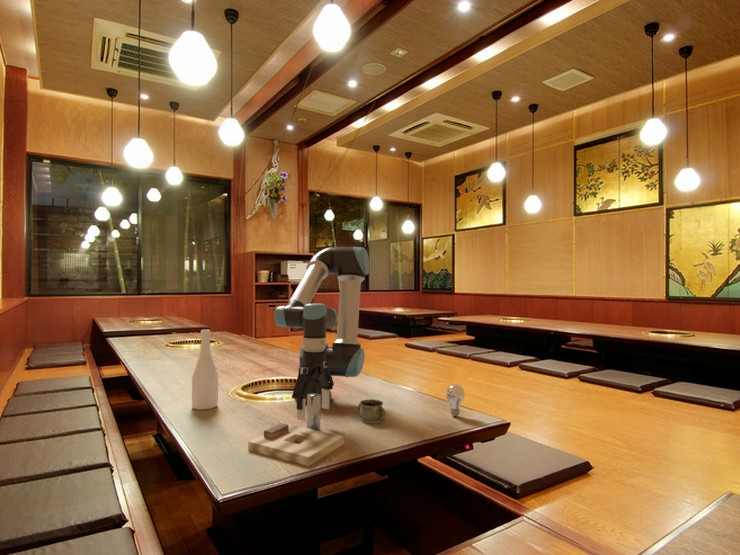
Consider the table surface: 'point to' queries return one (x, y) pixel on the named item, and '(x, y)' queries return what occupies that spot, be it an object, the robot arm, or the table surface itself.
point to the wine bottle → (205, 377)
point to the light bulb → (455, 398)
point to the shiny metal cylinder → (313, 411)
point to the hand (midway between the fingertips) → (313, 413)
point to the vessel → (371, 411)
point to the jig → (282, 443)
